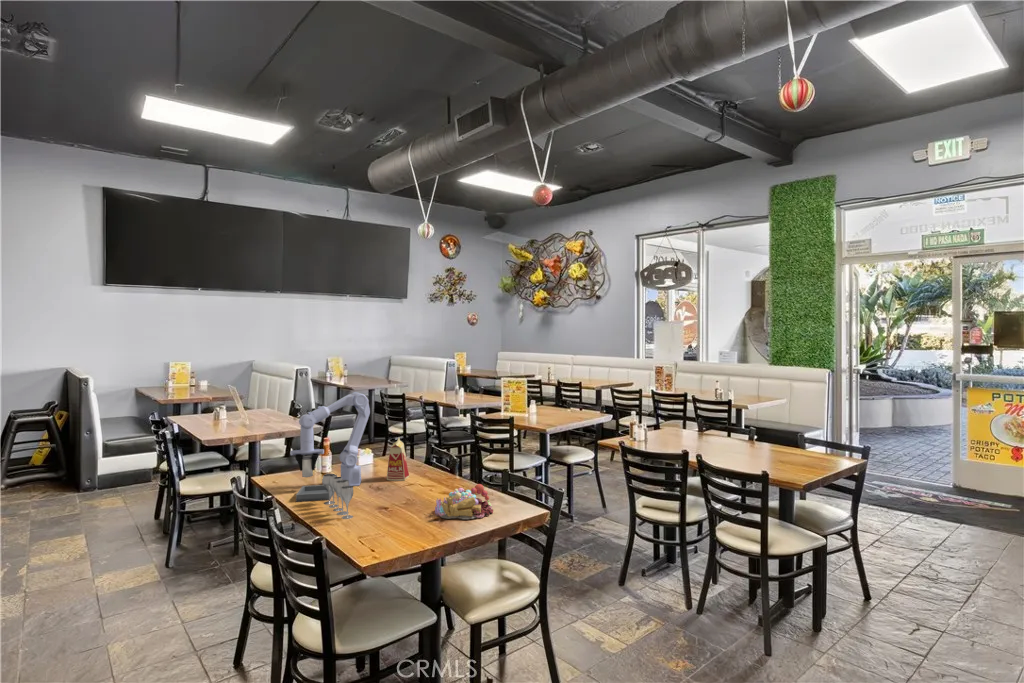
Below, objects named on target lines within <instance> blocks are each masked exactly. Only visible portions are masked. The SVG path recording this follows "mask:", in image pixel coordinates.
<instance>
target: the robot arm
mask: <svg viewBox="0 0 1024 683" xmlns="http://www.w3.org/2000/svg"><path fill="white" fill-rule="evenodd" d="M369 402H370V400H369V399H368V397H367V396H366V395H365V394H364V393H360V392H358V391H354V392H352V393H349V394H347V395H345V396H343V397H342V398H340V399H337V400H336V401H335V402H332V403H331V404H329V405H328V406H325V405H322V406H321V405H318V406H317V408H316V409H314V410H312V411H308V412H307V414H306V413H305V414H303V415H301V416H300V418H299V420H298V423H299V425H300V434H299V435H300V436H299V437H300V440H299V441H300V449H295V450H294V449H293V450H292V449H291V450H290V456H294V458H295V460H296V462H297V464H298V466H299V470H300V472H302V457H303V456H308V455H311V456H312V470H313V471H315V469H316V468H315V467H316V463H317V461H318V458H319V455H324V454H325V449H323V448H321V449H320V448H314V446H315V445H314V444H315V442H314V438H315V437H314V436H315V435H314V434H315V433H314V426H315V424H317V423H319V422H321V421H323V420H325V419H327V418H329V417H330V414H331V413H333V412H335V411H336V410H339V409H342V408H343V407H346V406H352V407H355V409H356V411H357V416H356V420H355V423H354V424H353V427H352V431H351V434H350V436H349V438H348V442H347V444H346V445H345V447H344V448H343V450H342V451H341V452H340V454H339V460H340V462H341V464H340V477H342V480H348V481H349V486H353V487H358V486H361V483H362V466H361V464H360V465H357V463H358V454H359V446H360V443H361V440H362V437H363V435H364V432H365V430H366V426H367V423H368V420H369V417H370V414H371V408H370V404H369Z"/></svg>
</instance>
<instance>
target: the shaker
mask: <svg viewBox="0 0 1024 683" xmlns="http://www.w3.org/2000/svg"><path fill="white" fill-rule="evenodd" d="M313 475H314V470H312V455H303V457H302V471H301V477H302V478H311V477H313Z"/></svg>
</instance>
